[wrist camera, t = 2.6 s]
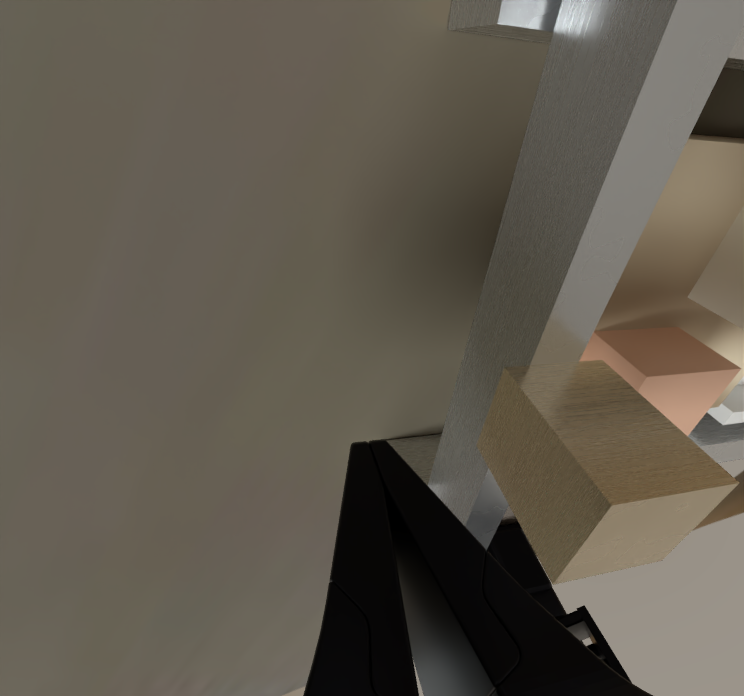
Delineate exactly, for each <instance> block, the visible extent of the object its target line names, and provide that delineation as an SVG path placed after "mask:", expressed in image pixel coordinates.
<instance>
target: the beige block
mask: <svg viewBox="0 0 744 696" xmlns="http://www.w3.org/2000/svg"><path fill="white" fill-rule="evenodd" d="M688 298H689V299H691V300H693V301H695V302H696V303H698V304H700V305H702V306H703V307H705V308H707V309H709V310H710V311H712V312H714V313H716V314H717V315H719V316H721V317H722V318H724V319H726V320H728V321H729V322H731V323H733V324H735V325H736V326H738V327H740V328H742V329H743V330H744V206H743V208H742V209H741V211H740V212H739V214H738V216H737V217H736V219H735V221H734V222H733V224H732V225H731V227H730V229H729V230H728V232H727V234H726V235H725V237H724V238H723V240H722V242H721V243H720V245H719V247H718V248H717V250H716V251H715V253H714V255H713V256H712V258H711V260H710V261H709V263H708V264H707V266H706V268H705V269H704V271H703V273H702V274H701V276H700V277H699V279H698V281H697V282H696V284H695V286H694V287H693V289H692V291H691V292H690V294H689V295H688Z"/></svg>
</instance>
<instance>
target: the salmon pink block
mask: <svg viewBox="0 0 744 696" xmlns="http://www.w3.org/2000/svg"><path fill="white" fill-rule="evenodd" d="M593 360H603V361H604V362H605V363H606V364H607V365H609V366H610V367H611V368H612V369H613V370H614V371H615V372H616V373H618V374H619V375H620V376H621V377H622V378H623V379H624V380H625V381H626V382H628V383H629V384H630V385H631V386H632V387H633V388H634V389H635V390H636V391H638V392H639V393H640V394H641V395H642V396H643V397H644V398H645V399H646V400H648V401H649V402H650V403H651V404H652V405H653V406H654V407H655V408H656V409H658V410H659V411H660V412H661V413H662V414H663V415H664V416H665V417H666V418H668V419H669V420H670V421H671V422H672V423H673V424H674V425H675V426H677V427H678V428H679V429H680V430H681V431H682V432H683V433H684V434H685V435H687V436H688V435H689V434H690V433H691V431H692V430H693V429H694V428H695V426H696V425H697V424H698V423H699V421H700V420H701V419H702V418H703V416H704V415H705V414H706V413H707V411H708V410H709V409H710V407H711V406H712V405H713V404H714V402H715V401H716V400H717V399H718V397H719V396H720V395H721V394H722V392H723V391H724V390H725V389H726V387H727V386H728V385H729V384H730V382H731V381H732V380H733V379H734V377H735V376H736V375H737V374H738V372H739V371H740V370H741V368H740V367H738V366H737V365H735V364H734V363H732V362H731V361H729V360H728V359H726V358H724V357H723V356H721V355H720V354H718V353H717V352H715V351H714V350H712V349H711V348H709V347H708V346H706V345H705V344H703V343H702V342H700V341H699V340H697V339H696V338H694V337H693V336H691V335H689V334H688V333H686V332H685V331H683V330H682V329H680V328H679V327H666V328H647V329H629V330H611V331H594V332H593V334H592V336H591V338H590V340H589V342H588V344H587V346H586V348H585V350H584V352H583V354H582V357H581V359H580V361H593ZM580 361H579V362H580Z"/></svg>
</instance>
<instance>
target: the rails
mask: <svg viewBox="0 0 744 696" xmlns="http://www.w3.org/2000/svg"><path fill="white" fill-rule="evenodd" d="M561 3H562V0H452V5H451V12H450V18H449V24H448V30H453V31H460V32H467V33H474V34H482V35H489V36H496V37H503V38H511V39H518V40H525V41H532V42H540V43H547V44H550V43H551V39H552V35H553V32H554V28H555V25H556V21H557V17H558V14H559V10H560V7H561ZM723 68H728V69H735V70H742V71H744V26H743V28H742V30H741V32H740V34H739V36H738V38H737V40H736V42H735V44H734V46H733V48H732V50H731V52H730V54H729V57H728V59H727V61H726V63H725V65H724V67H723ZM441 436H442V434H438V435H429V436H420V437H411V438H402V439H393V440H386V441H387V442H388V443H389V444H390V445H391V446H392V447H393V448H394V449H395V451H396V452H397V453H398V454H399V455H400V456H401V457H402V458H403V459H404V460H405V461H406V463H407V464H408V465H409V466H410V467H411V468H412V469H413V470H414V471H415V472H416V473H417V474H418V476H419V477H420V478H421V479H422V480H423V481H424V482H425V483H426V484H427V485H428V483H429V479H430V475H431V472H432V468H433V465H434V461H435V457H436V454H437V450H438V446H439V443H440V439H441ZM688 437H689V438H690V439H691V440H692V441H693V442H694V443H695V444H697V445H698V446H699V447H700V448H701V449H702V450H703V451H704V452H705V453H707V454H708V455H709V456H710V457H711V458H712V459H713V460H714V461H715V462H717V463H721V462H727V461H733V460H740V459H744V422H742V423H735V424H727V425H722V424H721V423H720V422H718V421H717V420H716V419H715V418H713V417H712V416H711V415H710V414H709V413H706V414H705V415H704V416H703V418H702V419H701V420H700V421H699V423H698V424H697V425H696V426H695V428H694V429H693V430H692V431H691V433H690V434H689V435H688Z"/></svg>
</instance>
